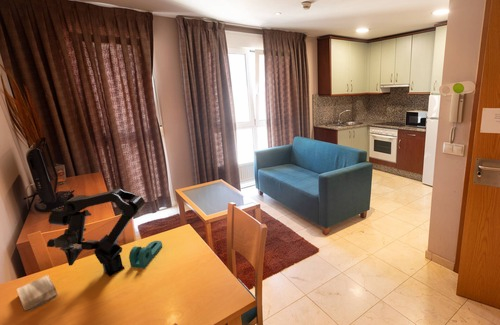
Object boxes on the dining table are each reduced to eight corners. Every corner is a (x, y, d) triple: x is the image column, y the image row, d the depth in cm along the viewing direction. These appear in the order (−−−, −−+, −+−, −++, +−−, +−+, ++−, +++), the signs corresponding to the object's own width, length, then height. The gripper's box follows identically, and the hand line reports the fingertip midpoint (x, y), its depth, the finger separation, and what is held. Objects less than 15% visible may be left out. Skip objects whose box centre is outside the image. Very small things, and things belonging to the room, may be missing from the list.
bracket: (144, 268, 113) (141, 253, 111) (131, 267, 115) (127, 252, 112) (164, 245, 130) (162, 231, 128) (152, 244, 132) (150, 230, 129)
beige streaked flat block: (47, 274, 107) (16, 289, 100) (55, 287, 100) (22, 304, 93) (49, 280, 108) (18, 295, 101) (57, 294, 101) (24, 310, 93)
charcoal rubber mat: (47, 280, 108) (47, 280, 108) (56, 296, 100) (56, 296, 99) (23, 292, 103) (23, 291, 103) (30, 310, 94) (30, 309, 94)
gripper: (38, 227, 99) (31, 269, 97) (85, 230, 98) (78, 272, 96) (60, 224, 110) (54, 261, 108) (102, 227, 109) (97, 265, 107)
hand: (70, 265), depth 105 cm, fingers closed
